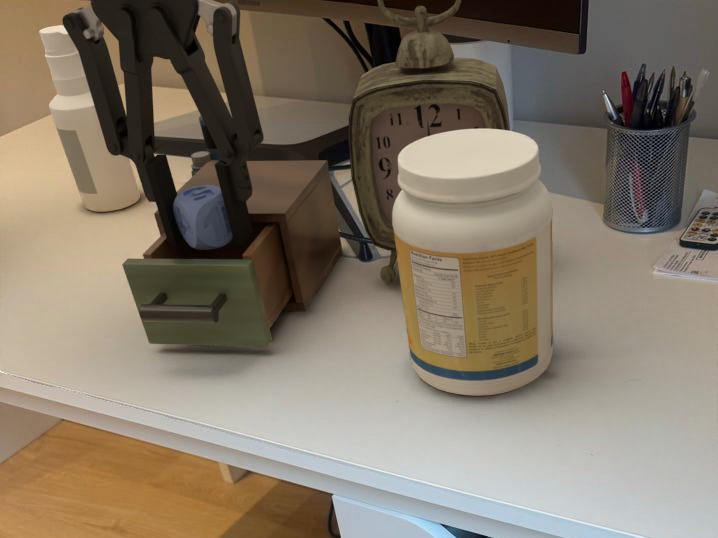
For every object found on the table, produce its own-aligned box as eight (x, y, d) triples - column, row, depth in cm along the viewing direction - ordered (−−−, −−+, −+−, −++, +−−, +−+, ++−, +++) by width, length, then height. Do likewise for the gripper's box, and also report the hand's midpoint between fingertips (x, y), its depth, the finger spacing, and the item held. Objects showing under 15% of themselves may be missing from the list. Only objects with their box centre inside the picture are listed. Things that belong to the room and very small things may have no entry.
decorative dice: (202, 254, 78) (188, 206, 75) (181, 241, 80) (167, 194, 78) (242, 239, 80) (230, 192, 77) (221, 227, 82) (208, 181, 79)
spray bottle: (106, 190, 114) (49, 20, 101) (152, 193, 112) (99, 21, 99) (72, 210, 109) (8, 36, 97) (119, 214, 108) (60, 37, 95)
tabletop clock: (368, 292, 89) (321, -18, 71) (377, 254, 95) (335, -40, 77) (516, 284, 88) (505, -32, 70) (514, 246, 94) (504, -52, 76)
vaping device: (252, 222, 103) (224, 104, 95) (219, 239, 100) (187, 119, 92) (236, 218, 104) (207, 102, 96) (203, 235, 101) (170, 116, 93)
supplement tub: (446, 323, 83) (427, 119, 71) (572, 340, 79) (575, 128, 67) (387, 389, 75) (354, 174, 63) (523, 412, 72) (516, 187, 60)
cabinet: (305, 311, 87) (285, 213, 80) (182, 309, 88) (153, 213, 82) (342, 252, 96) (327, 160, 89) (231, 251, 98) (208, 161, 91)
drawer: (253, 369, 77) (231, 286, 72) (130, 365, 79) (100, 284, 74) (309, 284, 89) (293, 207, 83) (200, 283, 90) (178, 207, 85)
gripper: (-27, -81, 62) (96, 255, 79) (225, -96, 59) (297, 256, 76) (28, -98, 67) (132, 221, 84) (262, -112, 65) (322, 221, 81)
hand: (210, 237), depth 80 cm, fingers closed on decorative dice, 5 cm apart
